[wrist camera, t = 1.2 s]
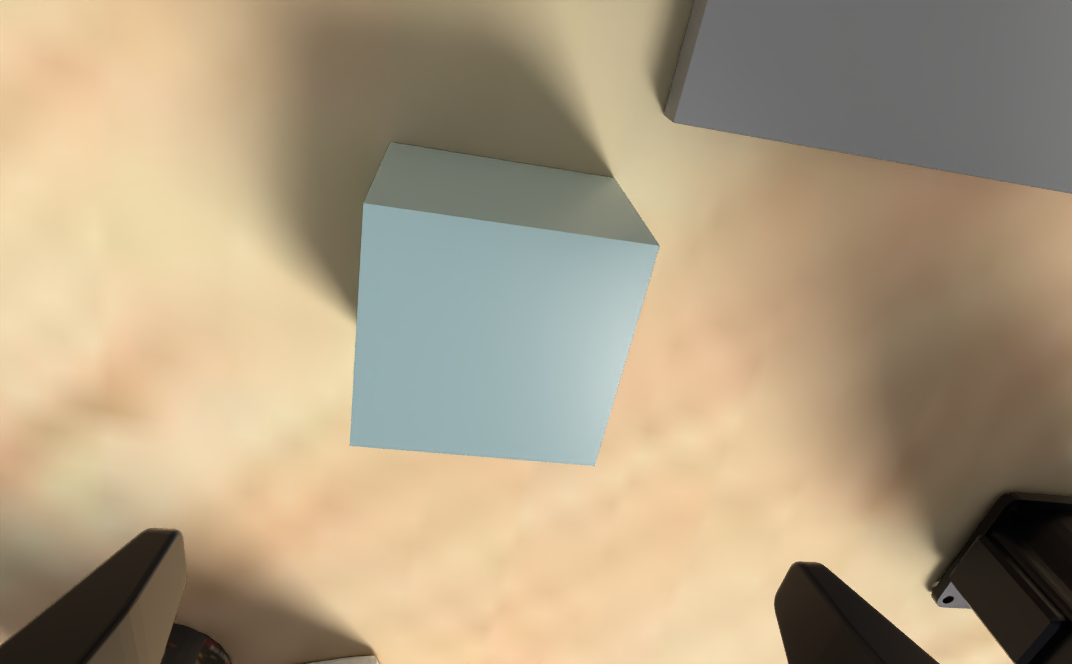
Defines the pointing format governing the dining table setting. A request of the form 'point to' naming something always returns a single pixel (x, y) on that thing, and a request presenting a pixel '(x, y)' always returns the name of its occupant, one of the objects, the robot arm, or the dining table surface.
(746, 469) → the dining table surface
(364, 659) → the skincare box
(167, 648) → the deodorant
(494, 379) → the pale blue cube
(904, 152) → the post stand
